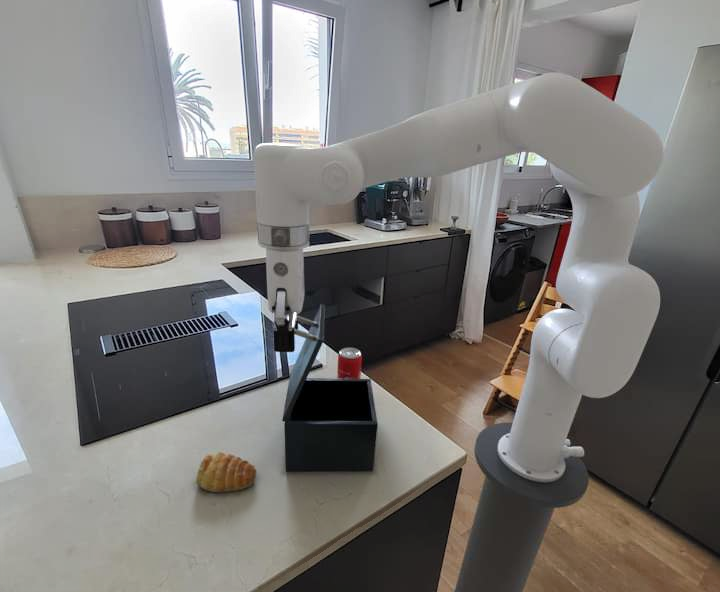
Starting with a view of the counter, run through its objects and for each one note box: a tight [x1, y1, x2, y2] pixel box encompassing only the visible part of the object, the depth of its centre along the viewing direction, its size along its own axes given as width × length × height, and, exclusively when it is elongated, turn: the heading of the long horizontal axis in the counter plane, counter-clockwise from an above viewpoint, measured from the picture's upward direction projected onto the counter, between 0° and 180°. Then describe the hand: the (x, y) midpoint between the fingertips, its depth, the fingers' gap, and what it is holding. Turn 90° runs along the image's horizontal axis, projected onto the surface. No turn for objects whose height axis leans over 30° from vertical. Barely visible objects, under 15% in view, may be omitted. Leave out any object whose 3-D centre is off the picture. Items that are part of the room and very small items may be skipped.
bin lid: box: [281, 303, 326, 423], centre depth 67 cm, size 16×14×6 cm
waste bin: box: [283, 377, 379, 473], centre depth 74 cm, size 16×14×11 cm
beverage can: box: [336, 347, 363, 379], centre depth 87 cm, size 5×5×12 cm
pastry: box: [195, 452, 257, 493], centre depth 66 cm, size 9×7×4 cm
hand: (286, 340), depth 66 cm, fingers closed on bin lid, 6 cm apart
